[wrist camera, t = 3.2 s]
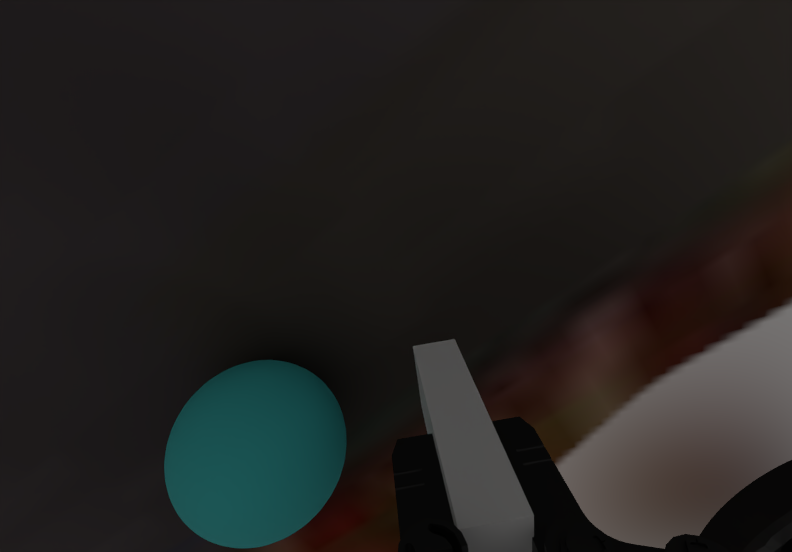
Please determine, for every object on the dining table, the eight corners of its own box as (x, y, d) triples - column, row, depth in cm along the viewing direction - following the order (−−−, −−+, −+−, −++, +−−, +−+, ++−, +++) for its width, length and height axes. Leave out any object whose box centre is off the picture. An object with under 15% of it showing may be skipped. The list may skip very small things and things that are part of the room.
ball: (362, 432, 18) (362, 571, 12) (234, 458, 17) (173, 611, 12) (330, 317, 15) (311, 421, 10) (184, 347, 15) (81, 469, 10)
